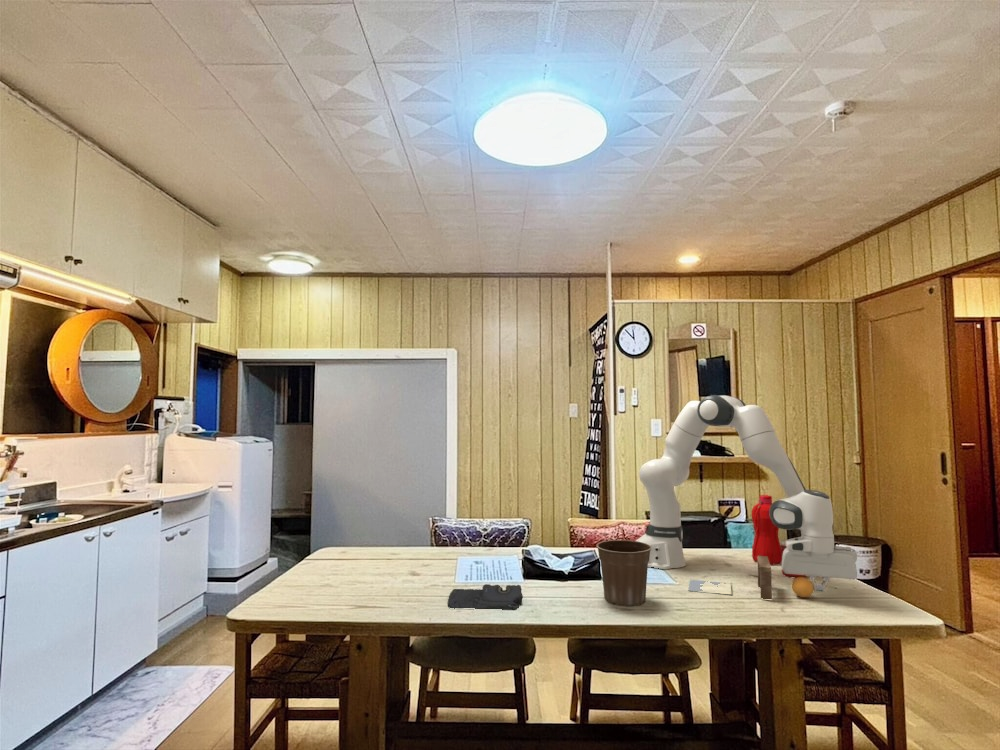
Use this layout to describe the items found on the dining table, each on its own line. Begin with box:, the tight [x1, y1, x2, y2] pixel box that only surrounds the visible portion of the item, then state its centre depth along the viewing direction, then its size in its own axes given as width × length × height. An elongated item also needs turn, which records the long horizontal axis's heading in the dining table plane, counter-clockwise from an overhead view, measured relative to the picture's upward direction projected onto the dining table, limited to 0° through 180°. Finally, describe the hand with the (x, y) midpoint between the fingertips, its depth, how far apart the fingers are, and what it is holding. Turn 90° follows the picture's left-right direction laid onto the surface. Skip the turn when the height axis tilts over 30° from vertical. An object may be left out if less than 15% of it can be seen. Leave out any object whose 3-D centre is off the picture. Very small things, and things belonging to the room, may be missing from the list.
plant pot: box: [596, 539, 652, 607], centre depth 176 cm, size 16×16×16 cm
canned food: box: [780, 540, 807, 579], centre depth 203 cm, size 8×8×11 cm
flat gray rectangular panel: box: [687, 579, 732, 592], centre depth 188 cm, size 13×13×1 cm
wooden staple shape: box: [757, 556, 773, 600], centre depth 183 cm, size 3×15×10 cm, turn 159°
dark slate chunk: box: [447, 583, 524, 611], centre depth 174 cm, size 15×22×5 cm
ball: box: [791, 577, 814, 598], centre depth 179 cm, size 6×6×6 cm
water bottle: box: [751, 494, 782, 566], centre depth 222 cm, size 9×11×25 cm
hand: (819, 590), depth 178 cm, fingers closed
